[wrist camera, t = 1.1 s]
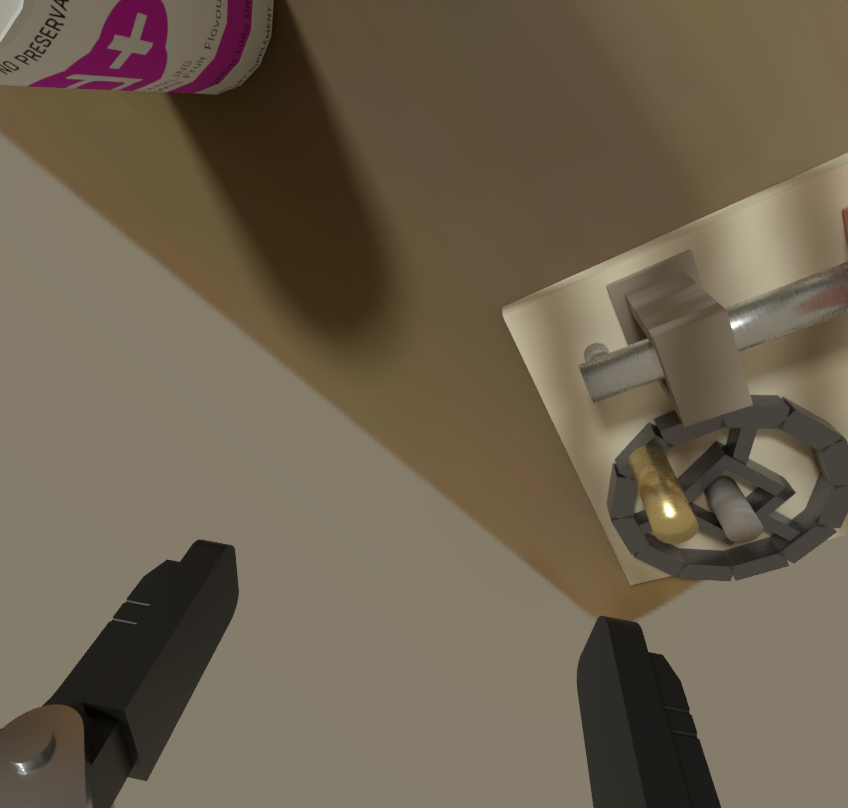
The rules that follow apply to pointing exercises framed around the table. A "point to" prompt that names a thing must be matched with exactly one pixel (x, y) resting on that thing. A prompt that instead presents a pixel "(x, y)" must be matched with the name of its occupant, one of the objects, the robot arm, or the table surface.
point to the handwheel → (671, 497)
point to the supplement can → (133, 43)
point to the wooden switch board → (698, 348)
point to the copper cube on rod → (750, 325)
